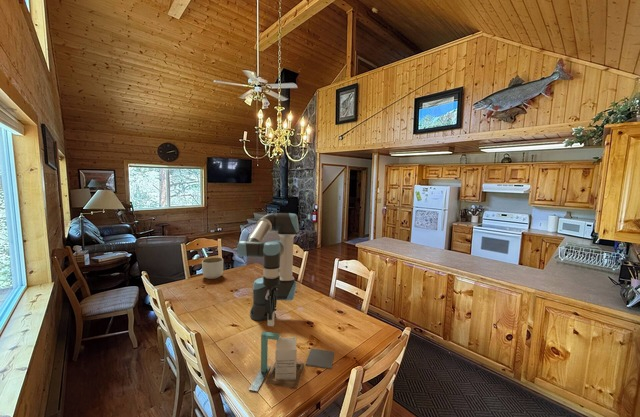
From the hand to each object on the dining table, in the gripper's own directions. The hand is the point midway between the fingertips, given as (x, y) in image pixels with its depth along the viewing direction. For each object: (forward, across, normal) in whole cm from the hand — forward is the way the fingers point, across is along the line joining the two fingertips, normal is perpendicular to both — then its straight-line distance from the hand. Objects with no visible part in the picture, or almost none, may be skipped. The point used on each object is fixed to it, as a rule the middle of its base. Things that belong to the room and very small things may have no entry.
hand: (270, 325), depth 123 cm
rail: (+18, -12, 0) cm, 21 cm away
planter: (+17, +90, +86) cm, 126 cm away
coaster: (+18, +6, -23) cm, 30 cm away
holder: (+18, -8, -10) cm, 22 cm away
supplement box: (+18, -8, -10) cm, 22 cm away
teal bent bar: (+17, -8, -3) cm, 19 cm away
